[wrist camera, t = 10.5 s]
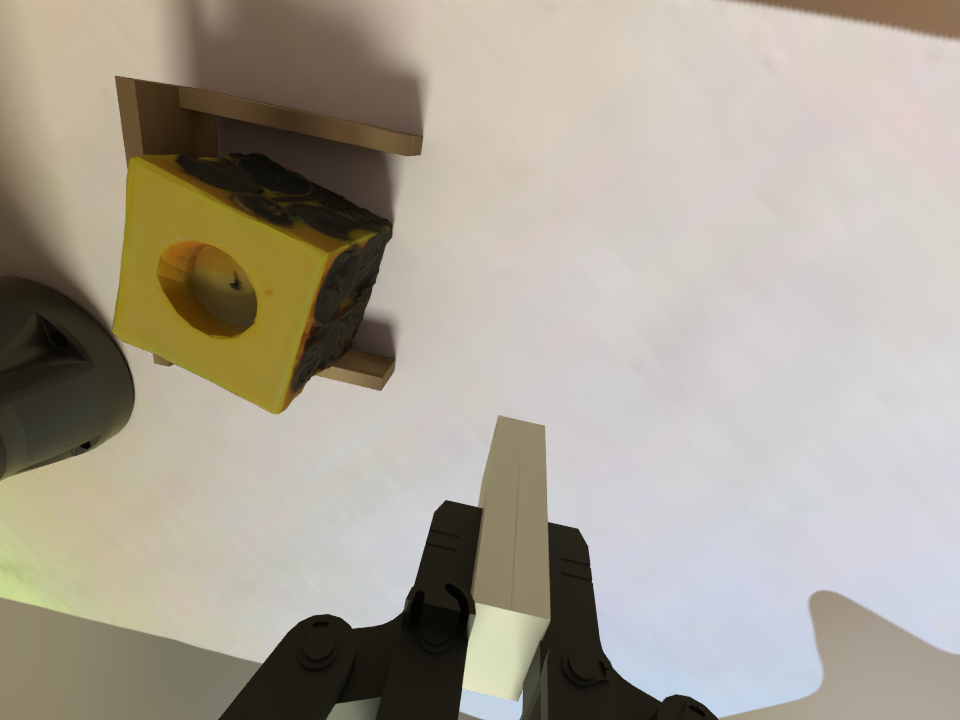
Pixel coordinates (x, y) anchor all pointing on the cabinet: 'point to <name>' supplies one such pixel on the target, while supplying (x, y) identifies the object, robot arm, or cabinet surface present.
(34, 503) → the cabinet surface
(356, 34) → the cabinet surface
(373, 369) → the dock
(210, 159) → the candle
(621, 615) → the cabinet surface
